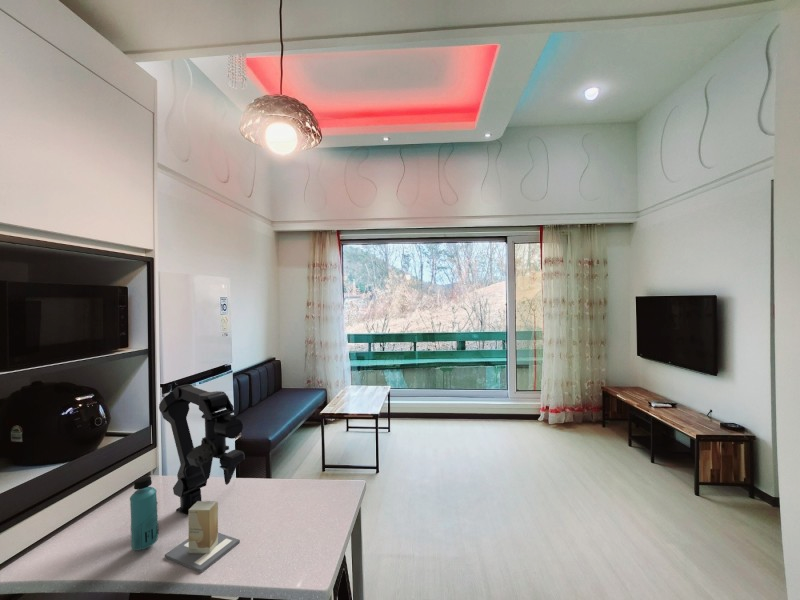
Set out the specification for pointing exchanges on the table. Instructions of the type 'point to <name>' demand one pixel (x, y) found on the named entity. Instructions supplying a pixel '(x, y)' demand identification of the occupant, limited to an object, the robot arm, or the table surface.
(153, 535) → the beverage bottle
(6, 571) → the table surface
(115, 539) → the table surface
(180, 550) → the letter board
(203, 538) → the skincare box
